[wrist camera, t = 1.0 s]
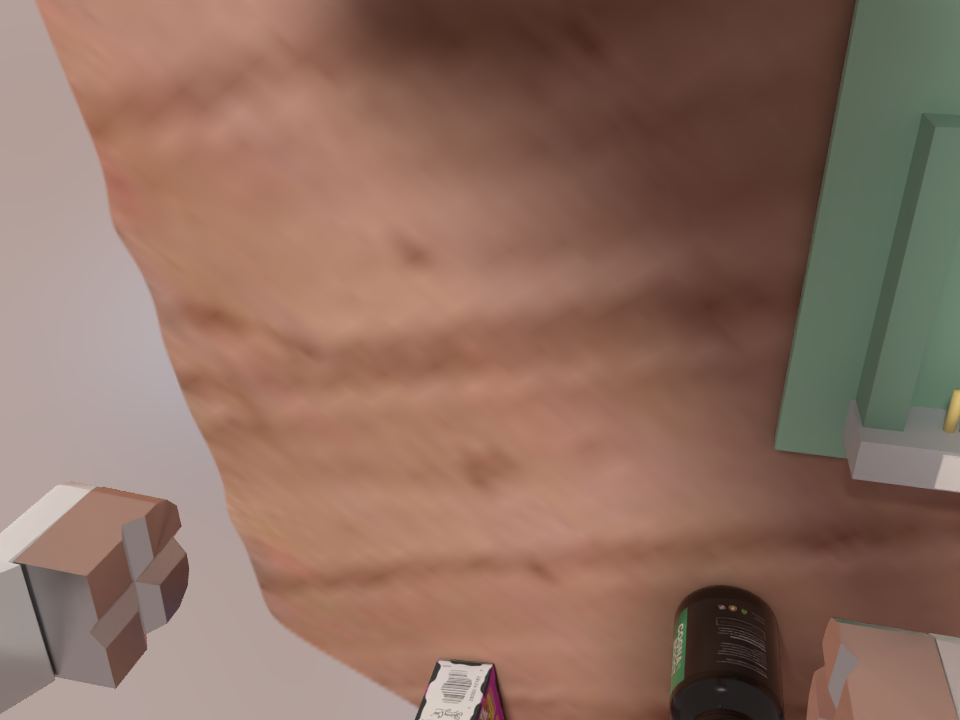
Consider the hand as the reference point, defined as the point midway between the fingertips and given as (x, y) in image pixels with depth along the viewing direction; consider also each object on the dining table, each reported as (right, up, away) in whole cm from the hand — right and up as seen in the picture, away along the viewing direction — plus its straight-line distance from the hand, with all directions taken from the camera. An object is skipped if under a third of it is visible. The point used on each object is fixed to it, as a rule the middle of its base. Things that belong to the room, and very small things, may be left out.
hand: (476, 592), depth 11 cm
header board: (+27, +9, +33) cm, 44 cm away
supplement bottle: (+17, -15, +49) cm, 54 cm away
